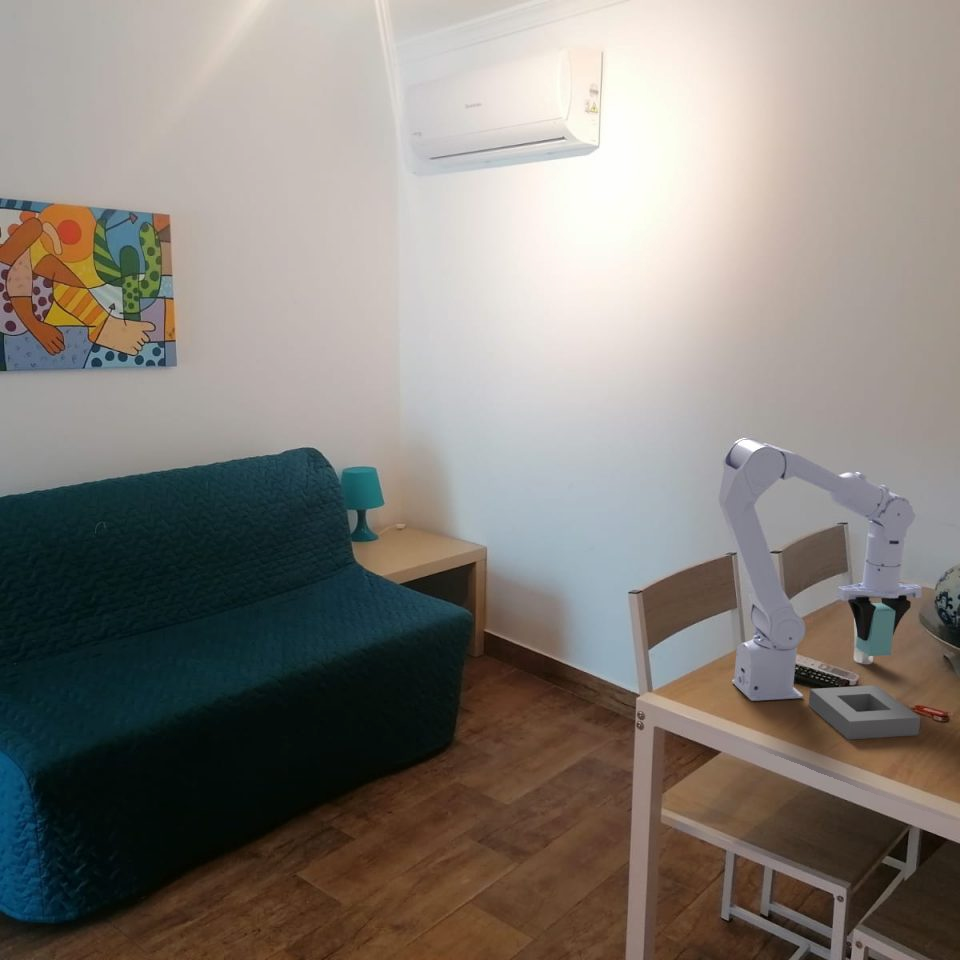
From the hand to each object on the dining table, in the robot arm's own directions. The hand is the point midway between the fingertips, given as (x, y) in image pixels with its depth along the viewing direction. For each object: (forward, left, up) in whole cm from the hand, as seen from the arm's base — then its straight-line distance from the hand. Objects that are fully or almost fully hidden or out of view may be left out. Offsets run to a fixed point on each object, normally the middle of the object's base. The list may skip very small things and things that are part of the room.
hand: (874, 637), depth 160 cm
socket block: (-8, -11, -9) cm, 17 cm away
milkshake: (+6, +11, -10) cm, 16 cm away
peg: (0, 0, -2) cm, 2 cm away
